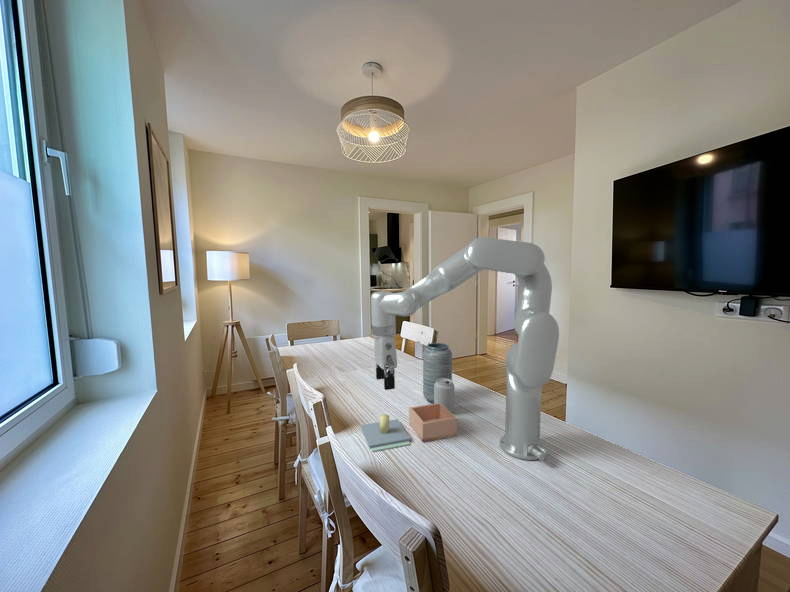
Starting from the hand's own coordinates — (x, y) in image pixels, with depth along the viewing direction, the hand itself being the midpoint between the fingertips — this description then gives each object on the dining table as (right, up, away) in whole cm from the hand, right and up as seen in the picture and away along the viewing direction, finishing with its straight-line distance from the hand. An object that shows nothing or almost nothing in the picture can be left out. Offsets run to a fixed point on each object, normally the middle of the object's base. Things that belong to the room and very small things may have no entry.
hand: (385, 383), depth 98 cm
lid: (0, -17, +1) cm, 17 cm away
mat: (0, -17, +1) cm, 17 cm away
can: (+22, -16, +18) cm, 32 cm away
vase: (+21, -15, +28) cm, 38 cm away
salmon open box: (+16, -17, +4) cm, 23 cm away
